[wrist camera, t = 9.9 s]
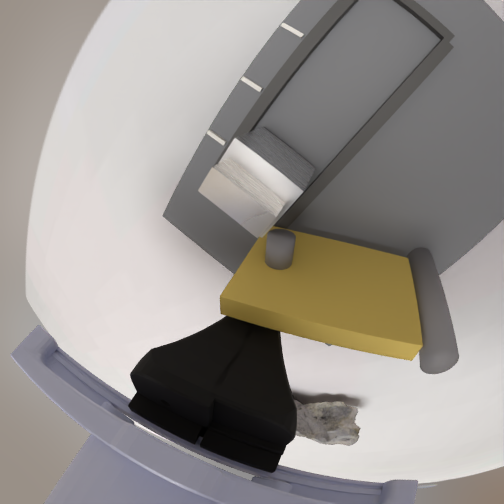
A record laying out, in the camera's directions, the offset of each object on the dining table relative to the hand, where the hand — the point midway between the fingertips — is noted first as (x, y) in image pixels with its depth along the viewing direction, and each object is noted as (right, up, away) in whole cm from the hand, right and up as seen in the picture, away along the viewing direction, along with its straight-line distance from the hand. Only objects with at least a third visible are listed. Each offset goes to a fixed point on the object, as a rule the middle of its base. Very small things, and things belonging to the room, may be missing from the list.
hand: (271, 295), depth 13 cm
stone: (+7, -10, +9) cm, 16 cm away
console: (+5, +6, -2) cm, 8 cm away
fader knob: (0, +6, -1) cm, 6 cm away
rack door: (+3, +3, -1) cm, 4 cm away
